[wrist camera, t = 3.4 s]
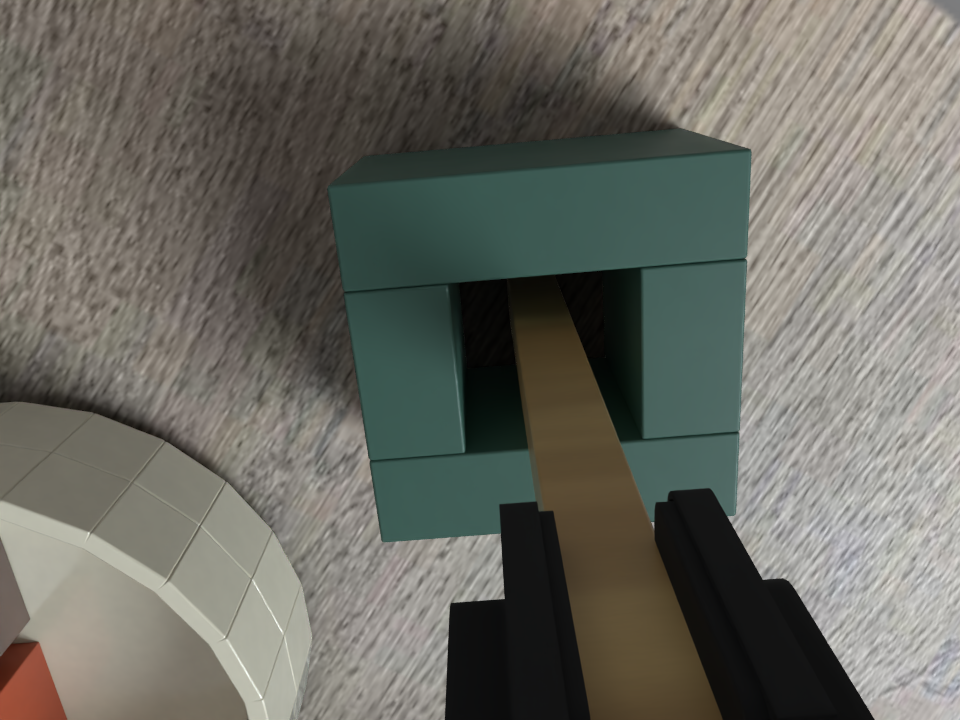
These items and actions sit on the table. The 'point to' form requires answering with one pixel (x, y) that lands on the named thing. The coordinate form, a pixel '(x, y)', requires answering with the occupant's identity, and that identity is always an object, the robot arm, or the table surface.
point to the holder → (535, 252)
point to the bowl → (146, 575)
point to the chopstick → (600, 526)
